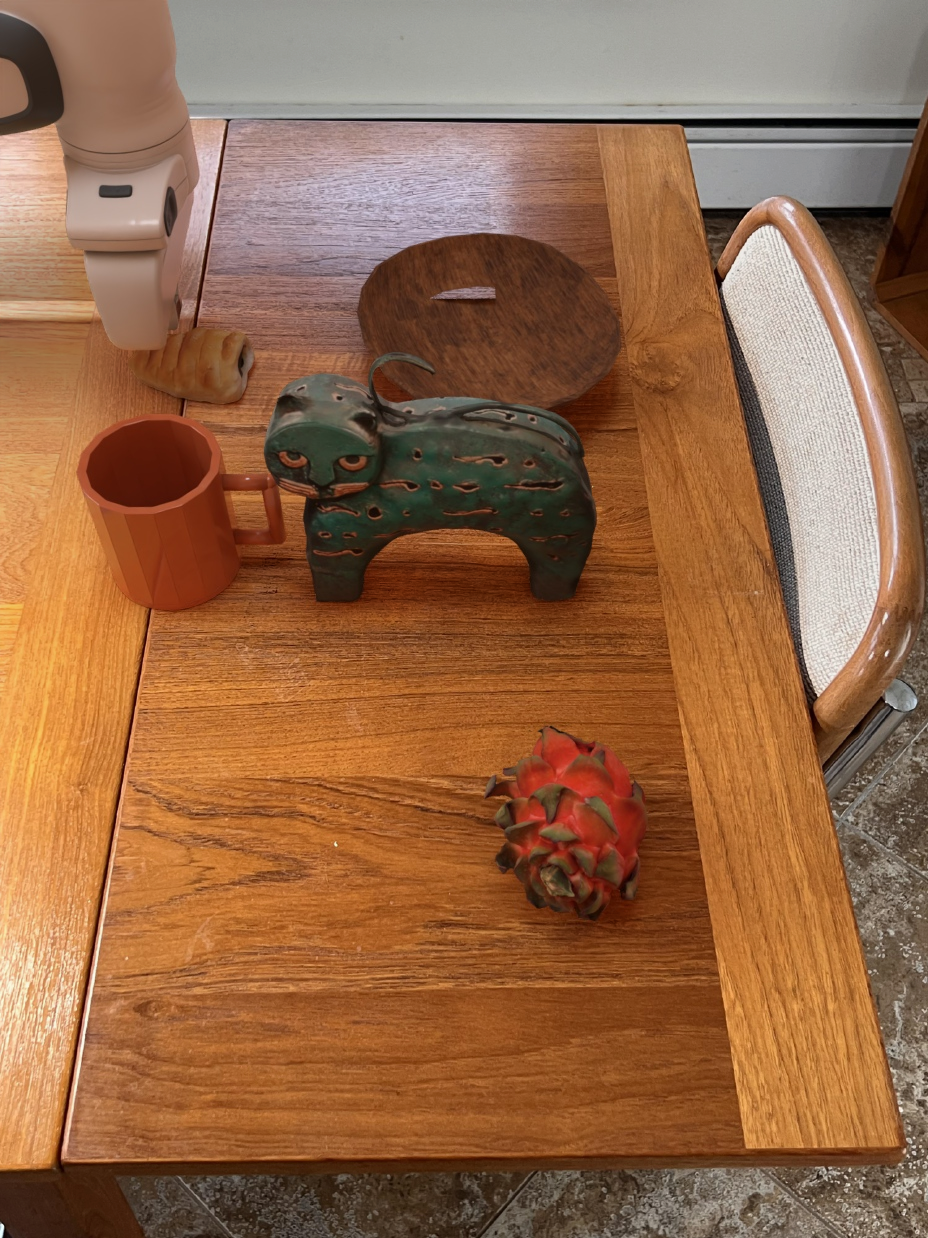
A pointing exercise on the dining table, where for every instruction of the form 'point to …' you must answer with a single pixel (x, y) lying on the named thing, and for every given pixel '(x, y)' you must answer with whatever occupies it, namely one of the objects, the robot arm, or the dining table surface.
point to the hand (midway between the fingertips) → (170, 319)
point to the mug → (170, 509)
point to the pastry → (197, 365)
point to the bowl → (490, 321)
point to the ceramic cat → (428, 477)
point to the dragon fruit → (571, 825)
